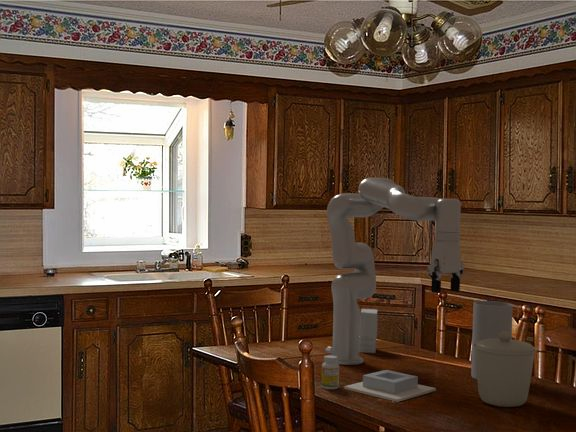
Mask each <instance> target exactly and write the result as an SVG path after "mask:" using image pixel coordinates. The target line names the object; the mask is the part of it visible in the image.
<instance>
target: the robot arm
mask: <svg viewBox="0 0 576 432" xmlns="http://www.w3.org/2000/svg"><path fill="white" fill-rule="evenodd" d="M357 191H358V193H353V192H352V193H351V192H349V193H348V192H346V193H345V192H344V193H340V194H337V195H335V196H333V197H332V198H330V201H329V202H328V204H327V209H326V219H327V223H328V228H329V233H330V234H329V235H330V243H331V254H332V255H331V256H332V261H333V265H334V267H336V268H337V269H338V270H353V272H346V273H345V272H344V273H340V274H337V275H336V276H335V277H334V278H333V279H332V282H331V287H330V288H331V295H332V301H333V302H332V303H333V305H332V306H333V317H332V318H333V319H332V324H333V325H332V346H327V347H326V348H325V350H324V352H325V353H327V354H329V355H332V356H337V362H336V363H338V364H339V365H343V366H344V365H345V366H354V365H355V366H356V365H360V364H363V363H364V358H363V357H361V356H360V352H359V341H360V317H361V310H360V306H359V304H358V301H357V300H361V299H363V300H364V299H368V298H370V297H372V296H373V295H374V294H375V293H376V289H377V276H376V266H375V257H374V253H373V250H372V248H371V247H370V246H369V245H368V244H366V243H365V242H358V241H357V242H356V238H355V230H354V227H353V225H352V223H351V222H350V220H349V218H369V217H371V216H373V215H374V214H376V213H377V212H379V211H380V210H382V209H383V208H385V209H388V210H390V212H391V211H392V213H394V214H395V215H398V216H400V217H403V218H405V219H408V220H411V221H416V222H418V221H426V222H427V221H429V222H431V221H432V222H433V221H435V235H434V237H435V238H434V240H435V241H434V242H433V245H432V251H431V259H430V264H429V265H427V270H428V275H429V276H430V280H431V288H430V289H431V293H432V294H433V293H434V294H441V293H442V292H441V291H442V281H441V280H440V279H441V278H442V276H443V275H451V277H450V291H453V292H460V290H461V288H460V287H461V279H462V275H463V273H464V269H465V264H464V263H463V262H462V259H461V258H462V256H461V254H462V253H461V243H460V239H461V238H460V234H461V233H460V232H461V212H462V211H461V209H462V207H461V205H462V204H461V201H460V200H459V199H458V198H440V197H432V196H429V197H428V196H414V195H411V194H409V193H406V191H405V189H404V187H402V185H399V184H396V183H395V181H393V180H392V179H391V178H386V177H367V178H364V179H363V180H362V181H360V183H359V186H358V190H357Z"/></svg>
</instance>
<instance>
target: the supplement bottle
mask: <svg viewBox="0 0 576 432" xmlns="http://www.w3.org/2000/svg"><path fill="white" fill-rule="evenodd" d="M323 357H324V358H323V359H324V362H323V363H322V364H321V382H320V383H321V384H320V387H321V388H322V389H325V390H337V389H339V384H340V381H339V380H340V378H339V377H340V364H338V363H336V362H337V356H332V355H330V354H329V355H328V354H327V355H324V356H323Z"/></svg>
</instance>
